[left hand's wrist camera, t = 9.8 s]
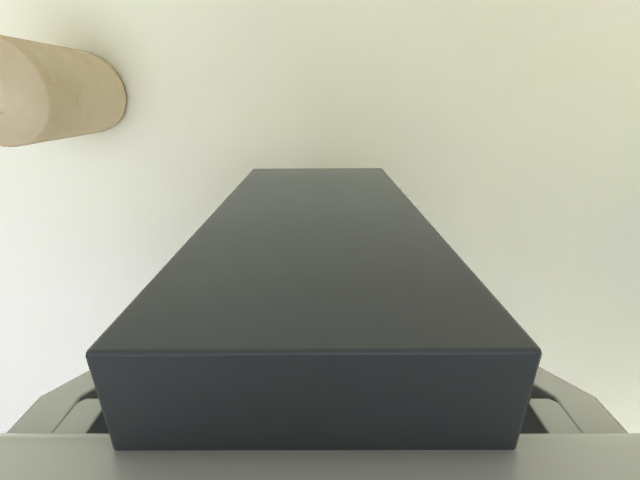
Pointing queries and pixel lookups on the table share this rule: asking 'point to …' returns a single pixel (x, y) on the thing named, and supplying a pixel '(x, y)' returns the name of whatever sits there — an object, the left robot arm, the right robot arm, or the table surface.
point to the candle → (54, 93)
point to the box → (315, 331)
